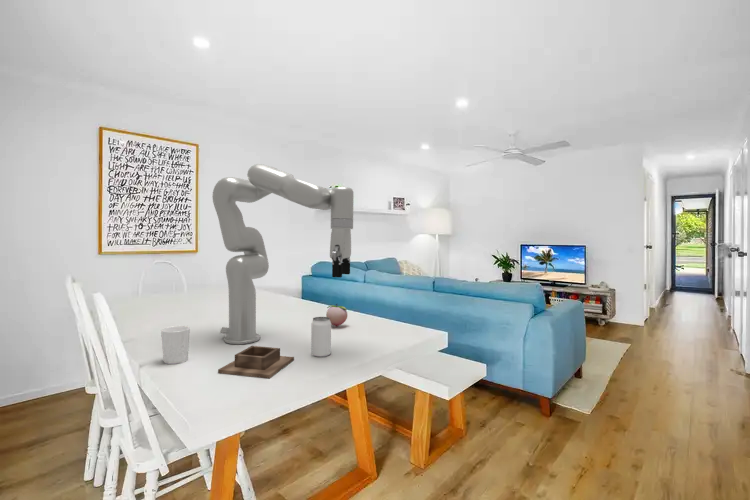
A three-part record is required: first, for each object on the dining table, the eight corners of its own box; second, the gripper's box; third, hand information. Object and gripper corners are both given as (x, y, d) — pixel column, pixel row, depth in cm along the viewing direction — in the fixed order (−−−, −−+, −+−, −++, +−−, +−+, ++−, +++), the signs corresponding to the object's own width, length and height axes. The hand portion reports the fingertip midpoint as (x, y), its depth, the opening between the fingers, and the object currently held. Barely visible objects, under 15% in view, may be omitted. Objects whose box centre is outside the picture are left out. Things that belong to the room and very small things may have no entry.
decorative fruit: (323, 328, 164) (323, 304, 163) (328, 324, 172) (328, 301, 171) (344, 329, 162) (345, 306, 162) (349, 325, 170) (349, 302, 170)
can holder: (218, 373, 111) (218, 357, 111) (248, 355, 127) (248, 342, 126) (269, 378, 107) (269, 362, 107) (294, 360, 123) (294, 346, 123)
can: (327, 358, 126) (327, 321, 125) (308, 356, 127) (308, 320, 126) (333, 352, 132) (333, 317, 132) (315, 350, 133) (315, 315, 133)
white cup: (170, 366, 116) (170, 333, 115) (156, 361, 120) (155, 329, 119) (195, 359, 122) (195, 328, 122) (180, 355, 127) (180, 324, 126)
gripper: (338, 225, 139) (338, 272, 140) (322, 223, 122) (322, 278, 123) (359, 225, 138) (358, 273, 139) (345, 224, 121) (345, 279, 122)
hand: (341, 275), depth 131 cm, fingers open, 9 cm apart
